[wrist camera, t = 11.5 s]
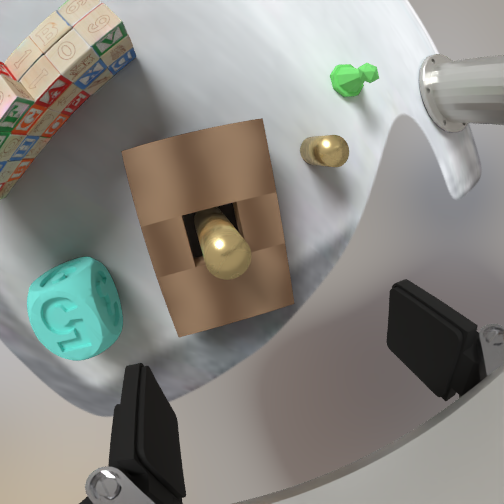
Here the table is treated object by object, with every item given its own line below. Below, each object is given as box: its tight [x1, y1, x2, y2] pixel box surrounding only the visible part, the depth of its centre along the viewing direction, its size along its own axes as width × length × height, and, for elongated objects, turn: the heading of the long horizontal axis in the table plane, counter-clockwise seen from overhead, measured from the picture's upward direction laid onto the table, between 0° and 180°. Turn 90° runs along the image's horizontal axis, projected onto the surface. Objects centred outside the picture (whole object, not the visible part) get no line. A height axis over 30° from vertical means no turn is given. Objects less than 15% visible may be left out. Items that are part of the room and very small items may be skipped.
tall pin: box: [194, 207, 251, 280], centre depth 26 cm, size 3×3×12 cm
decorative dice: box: [27, 257, 123, 361], centre depth 26 cm, size 8×8×8 cm
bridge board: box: [121, 119, 294, 337], centre depth 28 cm, size 12×18×6 cm, turn 11°
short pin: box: [300, 135, 349, 167], centre depth 29 cm, size 3×3×5 cm
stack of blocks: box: [0, 0, 136, 200], centre depth 17 cm, size 21×6×12 cm, turn 129°
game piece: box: [330, 63, 379, 97], centre depth 27 cm, size 4×4×6 cm
